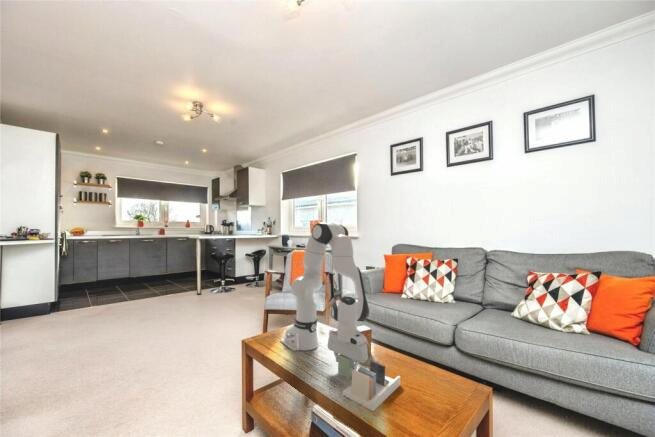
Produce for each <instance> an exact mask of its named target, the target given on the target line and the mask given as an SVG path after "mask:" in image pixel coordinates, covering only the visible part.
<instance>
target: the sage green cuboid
mask: <svg viewBox="0 0 655 437" xmlns="http://www.w3.org/2000/svg"><path fill="white" fill-rule="evenodd" d="M337 363H338V364H337V374H338V375H341V376H343V377H345V378H347V379H350V378H352V371H354V369H352V365H354V364H355V362H354V360H353V359H350V358H348V357H346V356H343V355H341V354H339V356H338V362H337Z"/></svg>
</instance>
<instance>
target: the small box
mask: <svg viewBox="0 0 655 437" xmlns="http://www.w3.org/2000/svg"><path fill="white" fill-rule="evenodd" d="M357 330H358V331H359V332H360V333H361V334H362V335H364V336H365V337H366V339H367V340H366V342H365V343H366V345H367V355H370V354H371V353H372V331H373V330H372V328H371V327H369V326H366V325H359V326H357Z"/></svg>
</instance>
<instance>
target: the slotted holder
mask: <svg viewBox="0 0 655 437" xmlns="http://www.w3.org/2000/svg"><path fill="white" fill-rule="evenodd" d="M400 386H401V376H400V375H397V376H395V378H392V377H390V376H388V375H387V376H386V365H383V364H381V363H378V362H375V361H373V360H369V369H367V368H365V367H362V366H360V367H359V368H357V369H356V370H354V371H352V376H351V385H349V386H347V387H346V388H345V389H344V390H342V395H343V396H344V397H347V398H348V399H350V400H352V401H354V402H355V403H357V404H359V405H361V406H363V407H364V408H366V409H369V410H370V411H372V412H374V411H375V410H376V409H378V407H380V405H382V403H384V402H385V401H386V400H387V398H389V397H390V396H391V395H392V394H393V393H394V392H395V391H396V390H397V389H398V388H399V387H400Z"/></svg>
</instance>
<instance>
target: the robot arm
mask: <svg viewBox="0 0 655 437" xmlns="http://www.w3.org/2000/svg"><path fill="white" fill-rule="evenodd" d="M328 245H329V246H330V248H331V266H332V269H333V270H334V272H336V273H337V274H338V275H341V276H343V277H345V278H348V279H350V280H351V281H352V282H353V284H354V290H355V295H356V299H355V298H353V297H351V296H343V297H340V298H339V300H335V301H333V303H332V304H331V312H330V313H331V314H330V315H331V318H332V319H334V321H335V322H338V324H337V330H335V329H329V332H328V340H327V348H328V350H329V351H332V352H333V355H334V357H335V362H337V363H338V356H339V355H340V354H341V355H343V356H346V357H348V358H350V359H353V360H354V365H352V369H354V370H356V371H357V370H358V365H359V363H360V364H364V363H365V362H366V361H367V360H368V354H367V345H366V343H365V342H366V340H367V339H366V337H365V336H364V335H362V334H361V333H360V332H359V331H358V330H357V327H358V326H357V322H364V321H365V320H367V318H368V317H369V316H370V308H369V304H368V301H367V297H366V296H367V295H366V290H365V284H364V280H363V276H362V272H361V271H362V270H361V269H360V268H359V267H358V266H357V265H356V263H355V260H354V247H353V242H352V238H351V237H350V236H349V230H348V228H347V227H346V226H344V225H342V224H337V223H334V222H329V223H328V222H322V221H321V222H317V223H315V224H314V225H313V227H312V230H311V233H310V236H309V238H308V240H307V243H306V246H305V250H304V254H303V258H302V264H303V275H301V276H298V277H297V278H295V279H294V280H293V281H292V282H291V283H290V291H291V293H292V295H293V296H294V298H295V303H296V304H295V305H296V317H295V318H294V319H293V322H294V323H293V325H291V326H290V327H289V328H287V329H286V330H285V334H284V336H283V337H281V338H280V342H281V343H282V344H284V345H285V346H287V347H288V348H289V349H290V350H291V351H295V352H296V351H311V350H315V349H317V347H318V346H319V342H318V341H319V339H318V334H317V333H318V332H317V330H318V329H317V326H318V319H317V304H316V303H315V300H314V293H316V292H317V291H319V290H320V288H321V287H322V285H323V277H322V273H323V272H322V269H323V263H324V259H325V254H326V251H327V250H326V249H327V246H328Z"/></svg>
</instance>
